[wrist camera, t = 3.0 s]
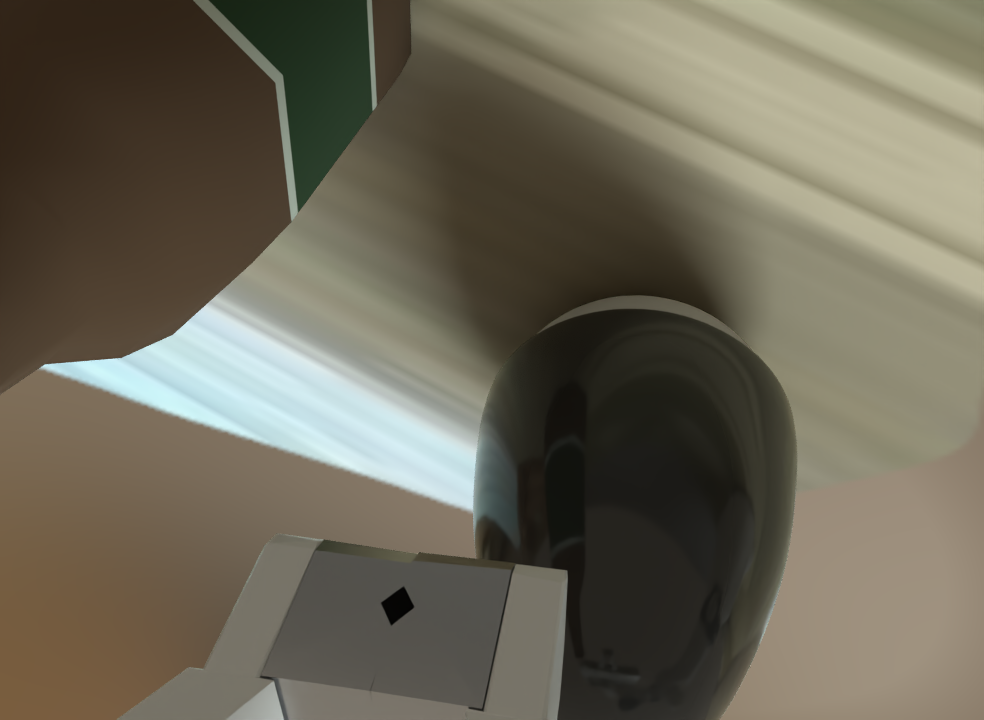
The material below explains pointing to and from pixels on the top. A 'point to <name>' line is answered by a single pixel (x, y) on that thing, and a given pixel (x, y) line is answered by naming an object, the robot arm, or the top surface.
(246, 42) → the beer bottle
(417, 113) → the top surface
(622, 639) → the dark grey oval piece
